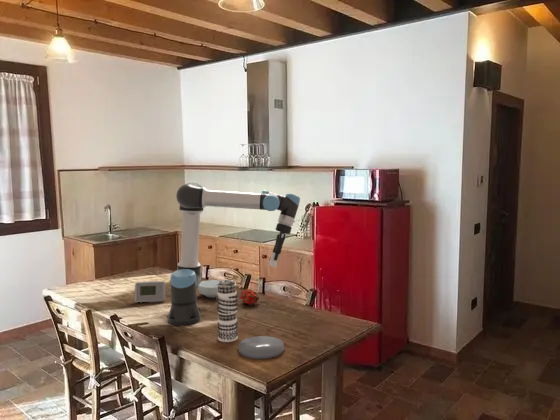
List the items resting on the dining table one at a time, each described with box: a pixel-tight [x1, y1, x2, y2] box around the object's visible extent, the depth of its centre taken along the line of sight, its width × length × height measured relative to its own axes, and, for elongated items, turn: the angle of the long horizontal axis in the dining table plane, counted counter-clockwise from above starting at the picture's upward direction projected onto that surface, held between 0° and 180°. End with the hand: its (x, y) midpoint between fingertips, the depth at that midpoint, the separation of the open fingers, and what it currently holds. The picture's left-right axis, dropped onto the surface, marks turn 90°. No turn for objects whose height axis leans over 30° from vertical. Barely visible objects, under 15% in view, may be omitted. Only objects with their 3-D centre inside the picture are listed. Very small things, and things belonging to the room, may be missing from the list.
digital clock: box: [134, 280, 166, 303], centre depth 247 cm, size 16×9×11 cm, turn 86°
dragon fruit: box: [239, 288, 260, 306], centre depth 241 cm, size 8×8×12 cm
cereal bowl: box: [197, 279, 222, 298], centre depth 257 cm, size 17×17×7 cm
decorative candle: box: [215, 279, 239, 343], centre depth 193 cm, size 9×9×25 cm
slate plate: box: [238, 335, 285, 360], centre depth 182 cm, size 18×18×2 cm
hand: (272, 266), depth 223 cm, fingers open, 13 cm apart
